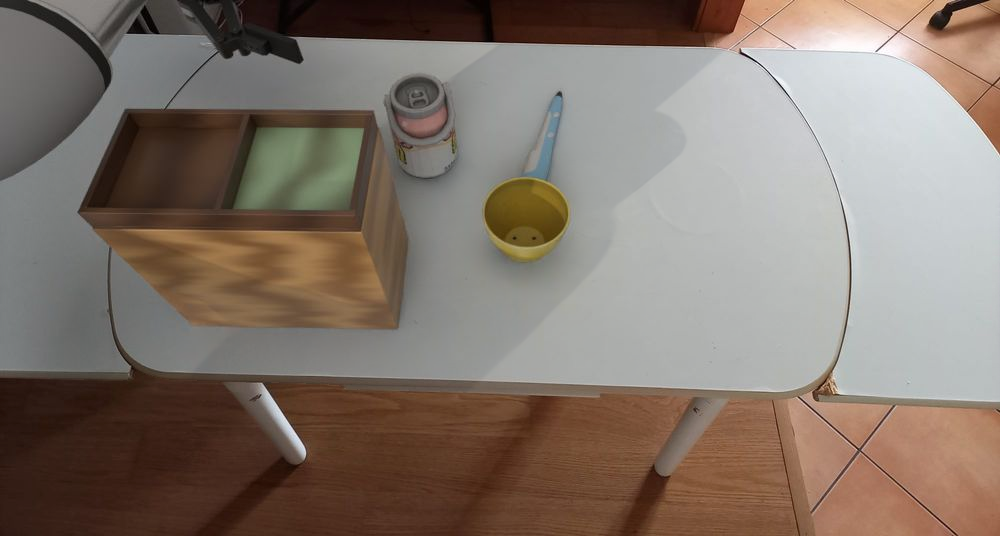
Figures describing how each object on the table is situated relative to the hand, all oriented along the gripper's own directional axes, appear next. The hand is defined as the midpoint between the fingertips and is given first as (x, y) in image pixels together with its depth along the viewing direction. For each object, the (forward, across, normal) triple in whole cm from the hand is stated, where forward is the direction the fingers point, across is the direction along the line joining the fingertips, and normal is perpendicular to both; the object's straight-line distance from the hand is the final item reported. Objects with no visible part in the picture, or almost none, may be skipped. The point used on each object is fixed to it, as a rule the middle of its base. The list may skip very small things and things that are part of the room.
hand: (334, 14), depth 69 cm
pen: (+22, -9, -20) cm, 32 cm away
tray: (+5, +23, 0) cm, 24 cm away
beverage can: (+10, 0, -20) cm, 22 cm away
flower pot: (+27, +7, -20) cm, 34 cm away
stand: (+5, +23, -20) cm, 31 cm away
